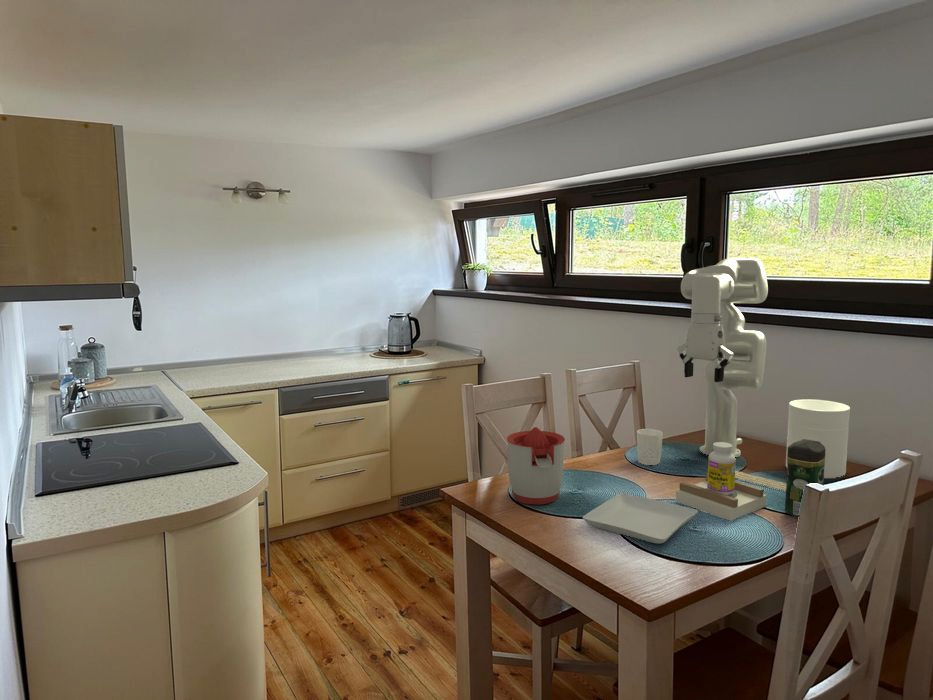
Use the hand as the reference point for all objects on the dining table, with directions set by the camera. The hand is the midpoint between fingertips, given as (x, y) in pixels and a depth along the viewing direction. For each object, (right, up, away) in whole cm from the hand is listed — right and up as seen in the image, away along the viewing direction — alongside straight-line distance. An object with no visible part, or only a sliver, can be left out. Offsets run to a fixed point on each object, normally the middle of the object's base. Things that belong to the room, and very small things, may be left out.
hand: (703, 379), depth 180 cm
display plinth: (-1, -32, -13) cm, 35 cm away
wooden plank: (+17, -31, +3) cm, 35 cm away
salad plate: (-25, -35, -25) cm, 50 cm away
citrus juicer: (-48, -33, -7) cm, 59 cm away
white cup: (-9, -28, +22) cm, 36 cm away
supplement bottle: (-1, -29, -14) cm, 32 cm away
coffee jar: (+18, -33, -20) cm, 43 cm away
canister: (+39, -28, +12) cm, 49 cm away
